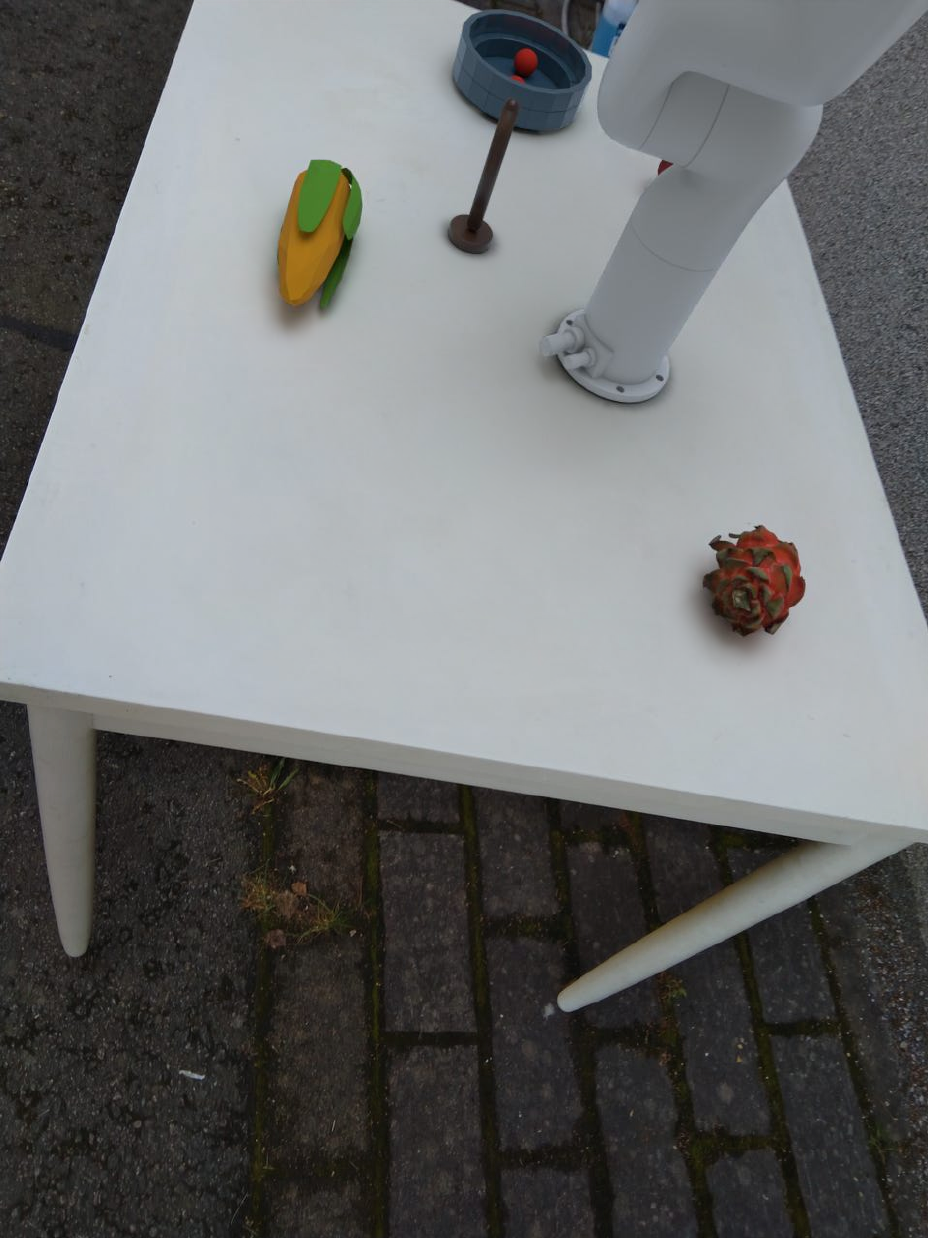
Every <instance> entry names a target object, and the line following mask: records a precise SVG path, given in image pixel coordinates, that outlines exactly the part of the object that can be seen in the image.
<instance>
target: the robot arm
mask: <svg viewBox="0 0 928 1238" xmlns="http://www.w3.org/2000/svg"><path fill="white" fill-rule="evenodd" d="M927 12H928V0H639V1H638V2H637V4H636V5H635V8H634V9H633V12H632V13H631V15H630V17H629V19H628V21H627V23H626V24H625V26H624V28H623V30H622V31H621V34H620V35H619V37H618V40H617V41H616V43H615V45H614V47H613V49H612V51H611V53H610V55H609V58H608V60H607V63H606V65H605V68H604V70H603V73H602V76H601V80H600V84H599V87H598V91H597V99H596V113H597V118H598V122H599V125H600V127H601V129H602V131H603V132H604V133H605V134H606V135H607V137H609V138H610V139H611V140H612V141H614V142H616V143H618V144H620V145H622V146H623V147H627V148H629V149H632V150H634V151H637V152H640V153H642V154H646V155H648V156H651V157H654V158H656V159H660V160H661V161H662V160H665V161H668V162H671V163H673V165H672V166H670V167H669V168H667V169H666V170H665V171H663V172H662V173H661V174H660V175H658V174H657V176H656V177H655V178H654V179H652V181H651V182H650V183H649V184H648V185H647V186H646V188H645V189H644V190H643V191H642V193H641V194H640V196H639V197H638V200H637V201H636V204H635V205H634V207H633V210H632V211H631V213H630V215H629V218H628V219H627V222H626V224H625V226H624V228H623V230H622V232H621V234H620V236H619V238H618V240H617V243H616V244H615V246H614V248H613V251H612V252H611V254H610V257H609V259H608V260H607V263H606V265H605V267H604V269H603V271H602V273H601V275H600V277H599V279H598V281H597V283H596V284H595V287H594V289H593V291H592V293H591V295H590V297H589V299H588V301H587V304H586V305H585V307H584V308H581V309H577V310H575V311H573V312H571V313H569V314H568V315H567V316H566V317H565V318H563V320H562V321H561V323H560V325H559V327H558V329H557V332H556V333H555V334H550V335H546V336H542V337H541V338H540V339H539V343H538V348H539V353H540V354H541V355H542V356H543V357H551V356H556V355H557V358H558V359H559V361H560V363H561V365H562V367H563V368H564V369H565V371H566V372H567V373H568V374H569V375H570V377H571V378H572V379H573V380H574V381H576V382H577V383H578V384H579V385H581V386H582V387H584V388H585V390H588V391H589V392H591V393H593V394H595V395H596V396H599V397H602V398H604V399H607V400H610V401H615V402H620V403H630V404H631V403H640V402H644V401H648V400H650V399H651V398H653V397H655V396H657V395H658V394H659V393H660V392H661V391H662V389H663V388H664V386H665V385H666V383H667V381H668V379H669V376H670V370H671V369H670V368H671V366H670V360H669V357H668V354H667V353H668V351H669V350H670V349H671V347H672V345H673V344H674V342H675V341H676V339H677V337H678V336H679V334H680V333H681V331H682V329H683V328H684V326H685V325H686V323H687V321H688V320H689V318H690V317H691V315H692V313H693V312H694V310H695V309H696V307H697V306H698V304H699V302H700V301H701V299H702V297H703V295H704V294H705V293H706V291H707V290H708V288H709V286H710V284H711V283H712V281H713V280H714V278H715V277H716V275H717V273H718V271H720V269H721V267H722V265H723V264H724V263H725V260H726V259H727V258H728V256H729V254H730V253H731V251H732V249H733V248H734V246H735V245H736V243H737V242H738V241H739V239H740V237H741V236H742V234H743V233H744V231H745V229H746V228H747V226H748V225H749V224H750V223H751V221H752V219H754V218H755V215H756V214H757V212H758V211H759V210H760V209H761V207H762V206H763V205H764V203H766V201H767V200H768V199H769V197H770V196H771V195H773V193H774V192H775V191H776V189H777V188H778V187H779V186H780V185H781V184H782V183H783V182H784V181H785V180H786V178H788V176H790V175H791V173H792V172H793V171H794V169H796V167H797V166H798V164H799V163H800V162H801V161H802V159H803V158H804V157H805V155H806V153H808V150H809V149H810V147H811V146H812V144H813V142H814V140H815V138H816V136H817V135H818V131H819V128H820V125H821V123H822V118H823V114H824V104H826V103H828V102H830V101H831V100H833V99H835V98H837V97H838V96H840V95H841V94H842V93H844V92H845V91H846V90H847V89H848V88H849V87H851V86H852V85H853V84H854V83H855V82H856V81H858V79H860V78H861V76H863V75H864V74H865V73H866V72H867V71H868V70H869V69H870V68H871V67H872V66H873V65H874V64H875V63H876V62H877V61H878V60H880V58H881V57H882V56H883V55H884V54H885V53H886V52H887V51H888V50H889V49H890V48H891V47H892V46H893V45H894V44H895V43H896V42H897V41H898V40H899V39H900V38H901V37H902V36H903V35H905V33H906V32H907V31H908V30H909V29H910V28H912V27H913V25H914V24H916V22H917V21H919V20H920V19H921V17H923V15H924V14H926V13H927Z"/></svg>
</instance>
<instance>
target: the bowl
mask: <svg viewBox="0 0 928 1238" xmlns="http://www.w3.org/2000/svg"><path fill="white" fill-rule="evenodd" d="M522 49H530V50H532V51H533V52H534V53H535V54H536V57H537V67H536V69H535V71H534V72H533V73H532V74H531V75H529V76H522V75H520V74H518V73H517V71H516V70H515V67H514V59H515V56H516V54H517V53H518V52H519V51H520V50H522ZM451 72H452V75H453V78H454V81H455V84H456V86H457V87H458V89H459V90H460V91H461V92H462V94H463V95H464V96H465V98H466V99H468V100H469V101H470V102H472V104H473V105H474V106H475V107H477V108H478V109H479V110H480V111H482V112H483V113H485V114H486V115H488V116H490V117H491V118H493V119H495V120H496V121H499V118H500V115H501V111H502V108H503V105H504V102H505V101H506V100H507V99H508V98H515V99H517V100H518V101H519V104H520V110H519V113H518V116H517V119H516V122H515V125H514V128H519V129H523V130H531V131H550V130H560V129H562V128H565V127H566V126H568V125H570V124H572V123H573V122H574V120H575V119H576V117H577V116H578V114H579V112H580V109H581V107H582V105H583V102H584V100H585V96H586V94H587V93H588V92H587V91H588V90H589V87H590V84H591V82H592V79H593V66H592V63H591V62H590V59H589V57H588V55H587V53H586V52H585V51H584V50H583V48H581V46H580V45H579V44H578V42H577V41H575V40H574V39H572V38H571V37H570V36H569V35H567V34H566V33H564V32H563V31H562V30H561V29H559V28H558V27H556V26H553V25H552V24H550V23H548V22H546V21H544V20H542V19H540V18H537V17H534V16H532V15H529V14H525V13H524V12H519V11H514V10H508V9H484V10H481V11H478V12H474V13H472V14H471V15H469V17H467V18H466V20H465V21H463V24H462V28H461V31H460V35H459V39H458V43H457V48H456V51H455V54H454V59H453V64H452V69H451ZM511 76H518V77H520V78H522V79H523V80H524V82H525V83H522V82H519V81H516V80H514V79H512V78H510V77H511Z"/></svg>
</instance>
